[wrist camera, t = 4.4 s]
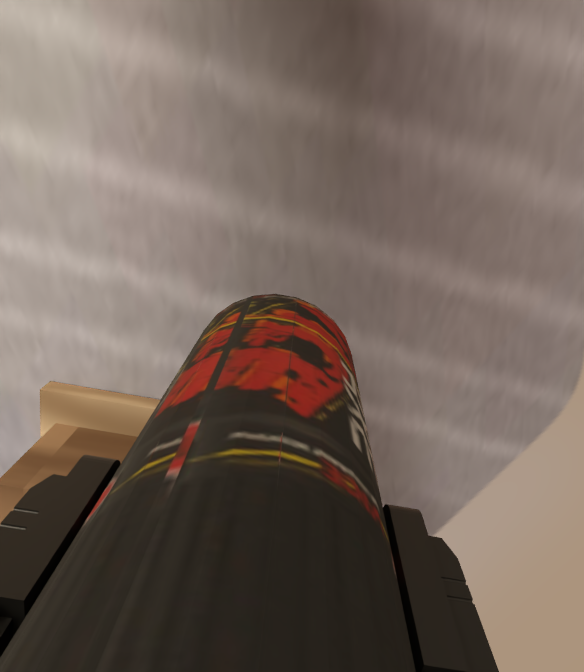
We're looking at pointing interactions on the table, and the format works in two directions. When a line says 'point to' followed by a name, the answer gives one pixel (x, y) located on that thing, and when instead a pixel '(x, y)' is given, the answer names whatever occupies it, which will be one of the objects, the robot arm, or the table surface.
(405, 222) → the table surface
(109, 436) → the holder
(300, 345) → the deodorant
